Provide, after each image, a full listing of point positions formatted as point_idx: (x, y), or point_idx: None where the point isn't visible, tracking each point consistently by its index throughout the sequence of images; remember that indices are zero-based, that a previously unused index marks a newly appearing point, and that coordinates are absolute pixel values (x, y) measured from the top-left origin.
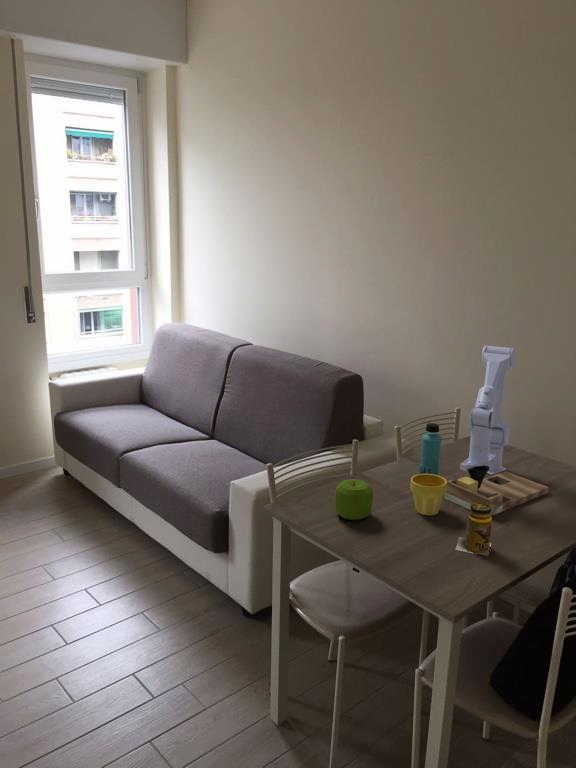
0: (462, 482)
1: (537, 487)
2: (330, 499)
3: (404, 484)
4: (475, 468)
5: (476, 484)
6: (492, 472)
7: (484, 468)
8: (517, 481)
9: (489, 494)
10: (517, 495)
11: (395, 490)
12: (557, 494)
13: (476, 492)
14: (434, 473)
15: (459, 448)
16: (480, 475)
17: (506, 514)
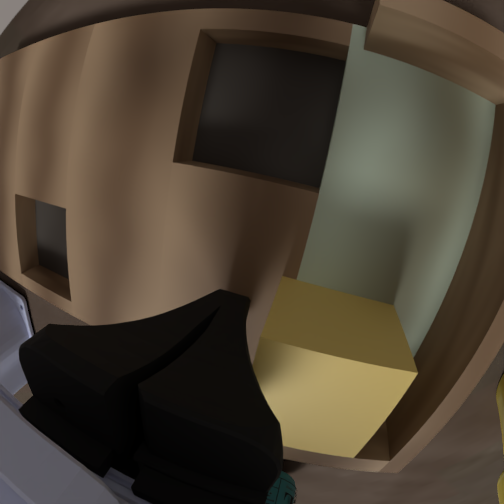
0: (381, 420)
1: (7, 78)
2: (493, 498)
3: (334, 495)
4: (242, 501)
5: (292, 325)
6: (17, 302)
7: (109, 409)
8: (3, 173)
9: (231, 189)
10: (115, 50)
11: (397, 490)
12: (13, 41)
13: (291, 282)
14: (270, 501)
15: (23, 401)
16: (223, 370)
17: (365, 12)
